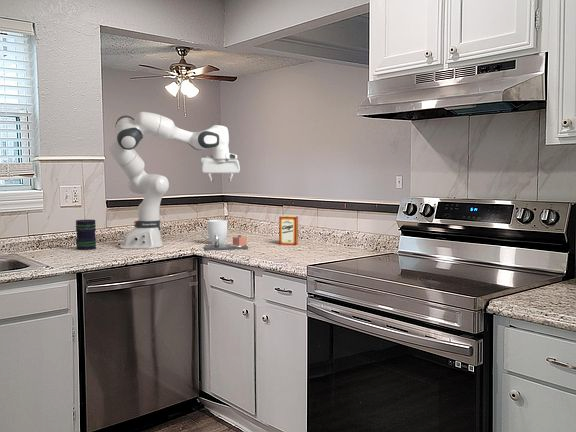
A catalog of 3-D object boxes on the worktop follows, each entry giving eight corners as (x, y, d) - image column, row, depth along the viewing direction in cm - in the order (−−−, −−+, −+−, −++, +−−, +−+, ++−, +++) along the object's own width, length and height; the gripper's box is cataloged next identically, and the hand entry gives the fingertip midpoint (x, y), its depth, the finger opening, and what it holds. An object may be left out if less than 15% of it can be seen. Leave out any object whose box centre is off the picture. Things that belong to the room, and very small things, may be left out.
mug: (198, 244, 313) (198, 221, 311) (204, 242, 323) (204, 219, 322) (224, 245, 310) (224, 221, 309) (229, 242, 321) (229, 219, 320)
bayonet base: (205, 250, 291) (205, 236, 290) (204, 247, 303) (204, 233, 302) (248, 249, 295) (248, 235, 295) (245, 246, 307) (245, 233, 307)
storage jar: (89, 250, 290) (89, 221, 288) (72, 249, 291) (71, 221, 290) (99, 247, 299) (99, 219, 298) (83, 247, 301) (82, 219, 300)
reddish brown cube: (232, 244, 301) (232, 235, 301) (240, 243, 305) (240, 234, 305) (239, 245, 298) (239, 236, 297) (246, 244, 302) (246, 235, 301)
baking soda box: (298, 243, 318) (298, 215, 317) (296, 245, 312) (296, 216, 311) (281, 243, 320) (281, 215, 319) (279, 244, 314) (279, 216, 312)
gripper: (201, 155, 295) (201, 181, 296) (240, 155, 299) (240, 181, 300) (200, 155, 301) (201, 181, 303) (238, 155, 305) (239, 181, 307)
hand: (220, 181), depth 302 cm, fingers open, 8 cm apart
